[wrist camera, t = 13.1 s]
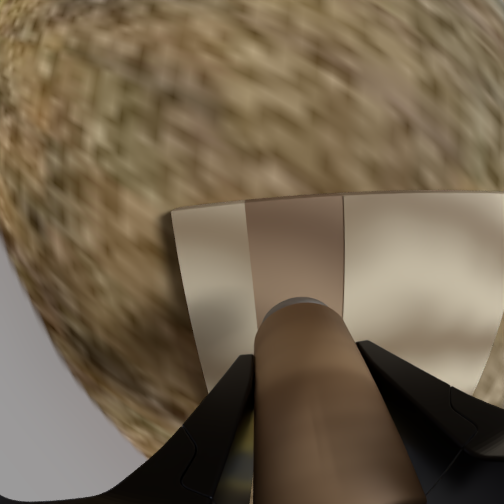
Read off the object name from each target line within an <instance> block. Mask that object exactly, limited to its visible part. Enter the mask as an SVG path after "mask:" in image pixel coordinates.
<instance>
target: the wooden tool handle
mask: <svg viewBox="0 0 504 504" xmlns="http://www.w3.org/2000/svg"><path fill="white" fill-rule="evenodd" d="M426 503H427V499H426V496H425V494H424V491H423V489H422V486H421V484H420V481H419V479H418V476H417V474H416V472H415V469H414V467H413V464H412V462H411V460H410V457H409V455H408V453H407V450H406V448H405V446H404V444H403V441H402V439H401V437H400V435H399V432H398V430H397V428H396V426H395V424H394V421H393V419H392V417H391V415H390V413H389V411H388V408H387V406H386V404H385V402H384V400H383V398H382V396H381V394H380V392H379V390H378V387H377V385H376V383H375V381H374V379H373V377H372V375H371V373H370V371H369V369H368V367H367V365H366V363H365V361H364V359H363V357H362V355H361V353H360V351H359V349H358V347H357V345H356V343H355V341H354V340H353V338H352V336H351V334H350V332H349V330H348V328H347V326H346V324H345V322H344V320H343V319H342V318H341V316H340V315H339V314H338V313H337V312H336V311H334V310H333V309H331V308H329V307H328V306H327V305H326V304H324V303H323V302H321V301H319V300H317V299H314V298H310V297H295V298H290V299H287V300H284V301H282V302H280V303H278V304H277V305H275V306H274V307H273V308H272V309H270V310H269V312H268V313H267V314H266V315H265V317H264V319H263V321H262V324H261V326H260V327H259V329H258V331H257V333H256V336H255V340H254V461H253V504H426Z"/></svg>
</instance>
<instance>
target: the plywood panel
mask: <svg viewBox="0 0 504 504" xmlns="http://www.w3.org/2000/svg"><path fill="white" fill-rule="evenodd" d="M171 216H172V223H173V229H174V235H175V241H176V247H177V253H178V259H179V265H180V270H181V275H182V281H183V286H184V291H185V296H186V301H187V306H188V311H189V315H190V320H191V324H192V329H193V333H194V338H195V342H196V346H197V350H198V355H199V359H200V363H201V367H202V371H203V375H204V378H205V382H206V386H207V390H208V393H209V392H210V391H211V390H212V389H213V388H214V386H215V385H216V384H217V383H218V381H219V380H220V379H221V378H222V376H223V375H224V374H225V373H226V371H227V370H228V369H229V368H230V366H231V365H232V364H233V363H234V361H235V360H236V359H237V357H238V356H239V355H242V354H253V355H254V340H255V336H256V333H257V331H258V329H259V327H260V326H261V324H262V321H263V319H264V317H265V315H266V314H267V313H268V312H269V310H270V309H272V308H273V307H274V306H275V305H277V304H278V303H280V302H282V301H284V300H287V299H290V298H295V297H310V298H314V299H317V300H319V301H321V302H323V303H324V304H326V305H327V306H328V307H329V308H331V309H333V310H334V311H336V312H337V313H338V314H339V315H340V316H341V318H342V319H343V320H344V322H345V324H346V326H347V328H348V330H349V332H350V334H351V336H352V338H353V340H354V341H355V343H356V342H357V341H363V340H369V341H371V342H373V343H375V344H377V345H378V346H380V347H382V348H384V349H386V350H387V351H389V352H391V353H393V354H395V355H396V356H398V357H400V358H402V359H404V360H405V361H407V362H409V363H411V364H413V365H414V366H416V367H418V368H420V369H422V370H424V371H425V372H427V373H429V374H431V375H433V376H435V377H436V378H438V379H440V380H442V381H444V382H446V383H448V384H449V385H450V387H451V386H453V387H455V388H457V389H459V390H461V391H463V392H465V393H467V394H469V395H471V396H472V395H473V393H474V390H475V388H476V386H477V384H478V382H479V379H480V377H481V375H482V372H483V370H484V367H485V365H486V362H487V360H488V357H489V354H490V352H491V349H492V346H493V343H494V340H495V337H496V334H497V331H498V328H499V325H500V322H501V318H502V315H503V311H504V192H501V191H468V190H409V191H372V192H348V193H330V194H313V195H299V196H286V197H273V198H262V199H251V200H241V201H231V202H221V203H212V204H203V205H195V206H187V207H179V208H176V209H174V210H172V211H171Z"/></svg>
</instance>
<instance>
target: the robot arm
mask: <svg viewBox="0 0 504 504" xmlns="http://www.w3.org/2000/svg"><path fill="white" fill-rule="evenodd" d="M356 345H357V347H358V349H359V351H360V353H361V355H362V357H363V359H364V361H365V363H366V365H367V367H368V369H369V371H370V373H371V375H372V377H373V379H374V381H375V383H376V385H377V387H378V390H379V392H380V394H381V396H382V398H383V400H384V402H385V404H386V406H387V408H388V411H389V413H390V415H391V417H392V419H393V421H394V424H395V426H396V428H397V430H398V432H399V435H400V437H401V439H402V441H403V444H404V446H405V448H406V450H407V453H408V455H409V457H410V460H411V462H412V464H413V467H414V469H415V472H416V474H417V476H418V479H419V481H420V484H421V486H422V489H423V491H424V494H425V496H426V499H427V503H426V504H504V409H502V408H499V407H497V406H494V405H491V404H489V403H487V402H484V401H482V400H479V399H477V398H475V397H473V396H471V395H469V394H467V393H465V392H463V391H461V390H459V389H457V388H455V387H453V386H451V387H450V385H449V384H448V383H446V382H444V381H442V380H440V379H438V378H436V377H435V376H433V375H431V374H429V373H427V372H425V371H424V370H422V369H420V368H418V367H416V366H414V365H413V364H411V363H409V362H407V361H405V360H404V359H402V358H400V357H398V356H396V355H395V354H393V353H391V352H389V351H387V350H386V349H384V348H382V347H380V346H378V345H377V344H375V343H373V342H371V341H369V340H363V341H357V342H356ZM182 426H183V427H180V428H179V429H178V430H177V431H176V433H175V434H174V435H173V436H172V437H171V438H170V439H169V440H168V441H167V442H166V443H165V445H164V446H163V447H162V448H161V449H159V450H158V451H157V452H156V453H155V454H154V455H153V456H152V457H151V458H150V459H148V460H147V461H146V462H145V463H144V464H142V465H141V466H140V467H139V468H138V469H137V470H135V471H134V472H133V473H132V474H130V475H129V476H128V477H126V478H125V479H124V480H123V481H121V482H120V483H119V484H118V485H116V486H115V487H113V488H112V489H110V490H108V491H106V492H104V493H102V494H99V495H96V496H91V497H85V498H76V499H68V500H56V501H38V502H24V501H16V500H11V499H8V498H5V497H3V496H1V495H0V504H249V503H250V495H251V487H252V478H253V461H254V355H253V354H242V355H239V356H238V357H237V359H236V360H235V361H234V363H233V364H232V365H231V366H230V368H229V369H228V370H227V371H226V373H225V374H224V375H223V376H222V378H221V379H220V380H219V381H218V383H217V384H216V385H215V386H214V388H213V389H212V390H211V391H210V392H209V394H208V395H207V396H206V397H205V399H204V400H203V401H202V402H201V403H200V405H199V406H198V407H197V408H196V409H195V411H194V412H193V413H192V414H191V415H190V416H189V418H188V419H187V420H186V421H185V422H184V424H183V425H182Z"/></svg>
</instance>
